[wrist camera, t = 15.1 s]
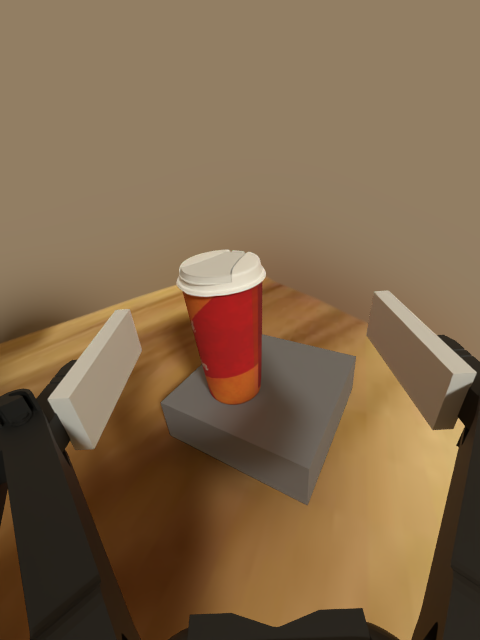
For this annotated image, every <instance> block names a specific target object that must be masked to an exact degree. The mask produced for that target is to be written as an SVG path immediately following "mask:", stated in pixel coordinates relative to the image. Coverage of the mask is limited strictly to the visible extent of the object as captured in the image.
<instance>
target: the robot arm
mask: <svg viewBox="0 0 480 640" xmlns="http://www.w3.org/2000/svg"><path fill="white" fill-rule="evenodd" d="M367 337H368V338H369V339H370V341H371V342H372V344H373V345H374V347H375V348H376V350H377V351H378V352H379V354H380V355H381V357H382V358H383V360H384V361H385V362H386V364H387V365H388V367H389V368H390V370H391V371H392V372H393V374H394V375H395V377H396V378H397V380H398V381H399V382H400V384H401V385H402V387H403V388H404V390H405V391H406V392H407V394H408V395H409V397H410V398H411V400H412V401H413V402H414V404H415V405H416V407H417V408H418V410H419V411H420V412H421V414H422V415H423V417H424V418H425V420H426V421H427V422H428V424H429V425H430V427H431V428H432V430H441V429H453V428H454V426H455V424H456V421H457V419H458V418H459V419H460V420H461V421H462V422H463V424H464V425H465V427H464V430H463V432H462V434H461V436H460V439H459V441H458V443H457V445H456V446H458V447H459V449H458V453H457V458H456V462H455V466H454V471H453V475H452V479H451V483H450V488H449V492H448V496H447V501H446V505H445V509H444V514H443V518H442V522H441V527H440V531H439V535H438V540H437V544H436V548H435V553H434V557H433V561H432V566H431V570H430V574H429V579H428V583H427V587H426V592H425V596H424V600H423V605H422V609H421V612H420V616H419V619H418V622H417V624H416V627H415V630H414V633H413V636H412V640H480V362H479V361H478V360H477V359H476V358H475V357H473V356H471V354H470V353H469V352H468V351H466V350H464V348H463V347H462V346H461V345H460V344H459V343H457V342H456V341H455V340H453V339H450V338H449V337H447V336H445V335H436V334H435V333H434V332H432V331H431V330H430V329H429V328H428V327H427V326H426V325H425V324H424V323H423V322H422V321H421V320H420V319H419V318H417V317H416V316H415V315H414V314H413V313H412V312H411V311H410V310H409V309H408V308H406V306H404V305H403V304H402V303H401V302H400V301H399V300H398V299H397V298H396V297H395V296H394V295H393V294H391V293H390V292H389V291H376V292H374V293H373V299H372V305H371V311H370V317H369V323H368V329H367ZM141 351H142V349H141V346H140V342H139V339H138V335H137V332H136V329H135V325H134V322H133V319H132V315H131V312H130V309H123V310H115V312H114V313H113V314H112V316H111V317H110V318H109V320H108V321H107V322H106V323H105V325H104V326H103V327H102V329H101V330H100V331H99V333H98V334H97V335H96V337H95V338H94V339H93V340H92V342H91V343H90V344H89V346H88V347H87V348H86V350H85V351H84V352H83V353H82V355H81V356H80V357H79V359H78V360H71V361H70V362H69V363H67V364H66V365H65V366H63V367H62V368H61V369H60V370H59V372H58V373H57V374H56V375H55V377H54V378H53V379H52V380H51V381H50V384H48V385H47V386H46V388H45V389H44V390H43V391H42V392H41V394H40V395H39V396H38V397H37V399H36V398H35V397H34V395H33V393H32V392H31V391H30V390H29V389H18V390H14V391H11V392H8V393H6V394H4V395H2V396H1V397H0V525H1V520H2V515H3V510H4V505H5V500H6V495H7V490H8V492H9V499H10V505H11V512H12V518H13V525H14V531H15V538H16V544H17V551H18V558H19V564H20V571H21V577H22V584H23V590H24V597H25V603H26V610H27V617H28V623H29V630H30V640H141V638H140V636H139V634H138V632H137V630H136V628H135V626H134V624H133V622H132V619H131V617H130V614H129V612H128V609H127V606H126V604H125V601H124V599H123V596H122V593H121V591H120V588H119V586H118V583H117V580H116V578H115V575H114V573H113V570H112V568H111V565H110V562H109V560H108V557H107V555H106V552H105V549H104V547H103V544H102V542H101V539H100V536H99V534H98V531H97V529H96V526H95V523H94V521H93V518H92V516H91V513H90V511H89V508H88V505H87V503H86V500H85V498H84V495H83V492H82V490H81V487H80V485H79V482H78V479H77V477H76V474H75V472H74V469H73V466H72V464H71V461H70V459H69V456H68V454H67V452H66V450H65V448H66V446H67V445H68V443H69V441H71V443H72V445H73V447H74V448H75V450H85V449H95V447H96V445H97V443H98V440H99V438H100V436H101V434H102V432H103V430H104V428H105V426H106V424H107V422H108V420H109V418H110V416H111V413H112V411H113V409H114V407H115V405H116V403H117V401H118V399H119V397H120V395H121V393H122V391H123V389H124V386H125V384H126V382H127V380H128V378H129V376H130V374H131V372H132V370H133V368H134V366H135V364H136V361H137V359H138V357H139V355H140V353H141ZM168 640H399V639H398V638H397V637H395V636H394V635H392V634H391V633H389V632H388V631H386V630H384V629H382V628H380V627H378V626H376V625H374V624H372V623H369V622H366V620H365V616H364V612H363V609H362V608H356V609H329V610H318V611H316V612H313V613H311V614H309V615H306V616H304V617H302V618H299V619H297V620H294V621H292V622H290V623H287V624H285V625H283V626H280V627H272V626H269V625H266V624H263V623H260V622H257V621H254V620H251V619H248V618H245V617H242V616H239V615H236V614H233V613H222V614H195V615H190V619H189V628H187V629H184V630H182V631H180V632H179V633H177V634H176V635H174V636H172V637H171V638H170V639H168Z"/></svg>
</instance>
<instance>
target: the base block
mask: <svg viewBox="0 0 480 640" xmlns="http://www.w3.org/2000/svg"><path fill="white" fill-rule="evenodd" d="M355 361H356V356H352V355H347V354H343V353H339V352H335V351H330V350H326V349H322V348H318V347H313V346H309V345H305V344H301V343H296V342H292V341H288V340H284V339H279V338H275V337H271V336H267V335H262V367H261V386H260V390H259V392H258V394H257V395H256V396H255V397H254V398H253V399H251V400H250V401H248V402H245V403H242V404H237V405H228V404H224V403H221V402H219V401H217V400H216V399H215V398H214V397H213V396H212V394H211V392H210V390H209V387H208V383H207V380H206V376H205V373H204V369H203V366H202V365H201V366H200V367H198V368H197V369H196V370H195V371H194V372H193V373H192V374H191V375H190V376H189V377H188V378H187V379H186V380H184V381H183V382H182V383H181V384H180V385H179V386H178V387H177V388H176V389H175V390H174V391H173V392H171V393H170V394H169V395H168V396H167V397H166V398H165V399H164V400H163V401H162V402H161V406H162V409H163V412H164V416H165V419H166V422H167V426H168V429H169V432H170V435H171V436H173V437H175V438H177V439H179V440H181V441H183V442H185V443H187V444H188V445H190V446H192V447H194V448H196V449H198V450H200V451H202V452H204V453H206V454H208V455H210V456H212V457H214V458H216V459H218V460H220V461H222V462H224V463H226V464H228V465H229V466H231V467H233V468H235V469H237V470H239V471H241V472H243V473H245V474H247V475H249V476H251V477H253V478H255V479H257V480H259V481H261V482H263V483H265V484H267V485H269V486H270V487H272V488H274V489H276V490H278V491H280V492H282V493H284V494H286V495H288V496H290V497H292V498H294V499H296V500H298V501H300V502H302V503H304V504H306V505H308V503H309V500H310V498H311V495H312V492H313V490H314V487H315V484H316V482H317V479H318V477H319V474H320V471H321V469H322V466H323V464H324V461H325V458H326V456H327V453H328V450H329V448H330V445H331V443H332V440H333V437H334V435H335V432H336V429H337V427H338V424H339V422H340V419H341V416H342V414H343V411H344V409H345V406H346V403H347V401H348V398H349V395H350V393H351V390H352V385H353V377H354V369H355Z"/></svg>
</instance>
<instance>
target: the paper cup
mask: <svg viewBox="0 0 480 640" xmlns="http://www.w3.org/2000/svg"><path fill="white" fill-rule="evenodd" d="M265 276H266V272H265V269H264V268H263V267H262V266H261V263H260V259H259V257H258V256H257V255H256V254H254V253H252V252H248V253H244V251H235V250H232V252H230V251H229V250H217V251H211V252H206V253H202V254H199V255H196V256H193V257H191V258H188V259H187V260H185V261H184V262H183V263H182V264H181V266H180V268H179V277H178V279H177V286H178V288H179V289H180V290H182V291H183V295H184V299H185V302H186V306H187V310H188V314H189V317H190V321H191V325H192V328H193V332H194V336H195V340H196V343H197V347H198V351H199V354H200V358H201V362H202V366H203V369H204V373H205V376H206V380H207V383H208V387H209V390H210V392H211V394H212V396H213V397H214V398H215V399H216V400H217V401H219V402H221V403H224V404H228V405H237V404H242V403H245V402H248V401H250V400H251V399H253V398H254V397H255V396H256V395H257V394H258V392H259V390H260V386H261V367H262V281H263V280H264V278H265Z"/></svg>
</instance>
